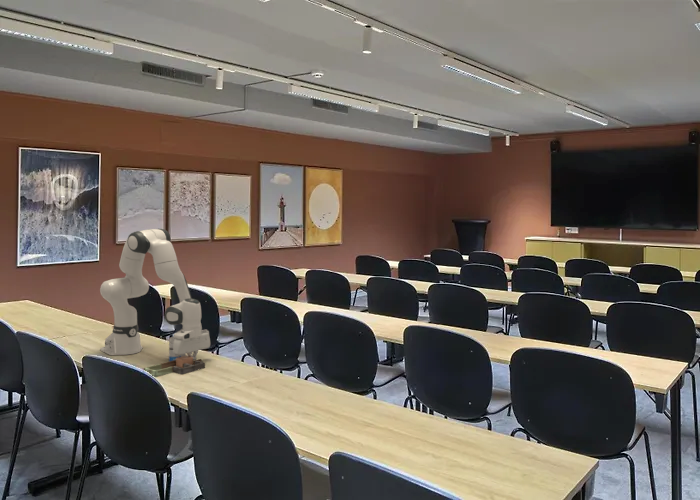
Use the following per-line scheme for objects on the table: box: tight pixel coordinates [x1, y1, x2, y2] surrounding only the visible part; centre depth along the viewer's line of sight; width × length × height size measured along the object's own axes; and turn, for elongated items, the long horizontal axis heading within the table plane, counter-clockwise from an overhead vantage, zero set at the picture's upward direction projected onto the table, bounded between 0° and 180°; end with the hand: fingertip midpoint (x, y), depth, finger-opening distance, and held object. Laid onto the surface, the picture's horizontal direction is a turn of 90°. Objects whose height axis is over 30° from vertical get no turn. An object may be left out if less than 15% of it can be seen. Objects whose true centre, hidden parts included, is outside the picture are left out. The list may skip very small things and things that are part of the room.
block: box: [176, 355, 194, 368], centre depth 279 cm, size 5×6×4 cm
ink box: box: [168, 335, 187, 362], centre depth 288 cm, size 8×5×12 cm, turn 168°
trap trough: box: [143, 358, 206, 378], centre depth 272 cm, size 15×26×2 cm, turn 145°
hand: (192, 360), depth 283 cm, fingers closed
